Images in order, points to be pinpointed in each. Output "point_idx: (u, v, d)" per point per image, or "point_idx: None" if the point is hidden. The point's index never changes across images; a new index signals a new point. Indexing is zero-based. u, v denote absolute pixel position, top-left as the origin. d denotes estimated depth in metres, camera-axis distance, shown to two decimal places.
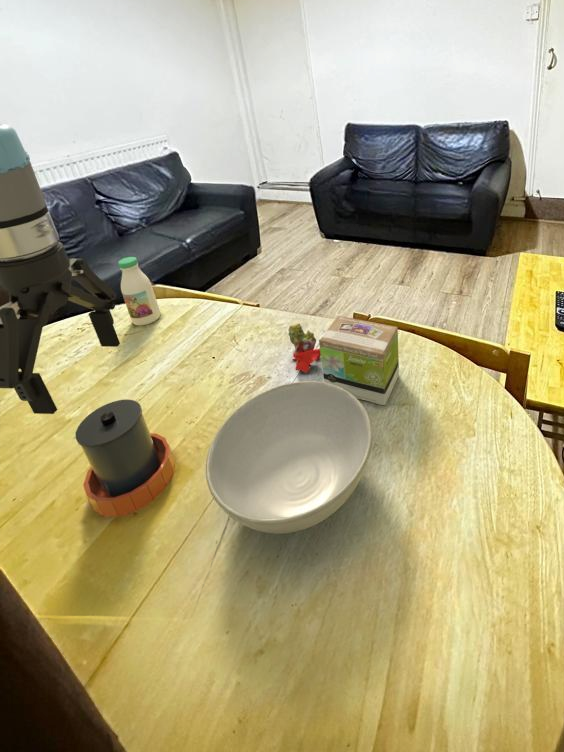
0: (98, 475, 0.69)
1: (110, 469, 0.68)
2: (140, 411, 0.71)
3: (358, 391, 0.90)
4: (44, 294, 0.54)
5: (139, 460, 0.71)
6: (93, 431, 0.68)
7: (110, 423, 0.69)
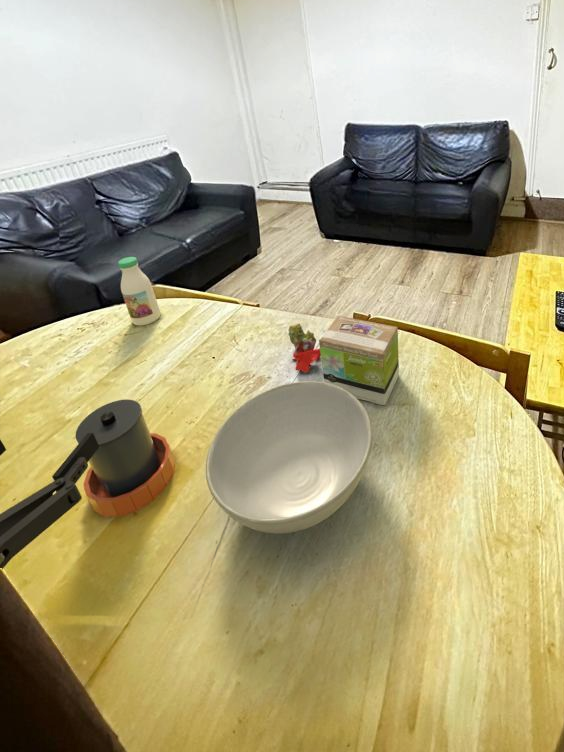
0: (98, 475, 0.69)
1: (110, 469, 0.68)
2: (140, 411, 0.71)
3: (358, 391, 0.90)
4: None
5: (139, 460, 0.71)
6: (93, 431, 0.68)
7: (110, 423, 0.69)
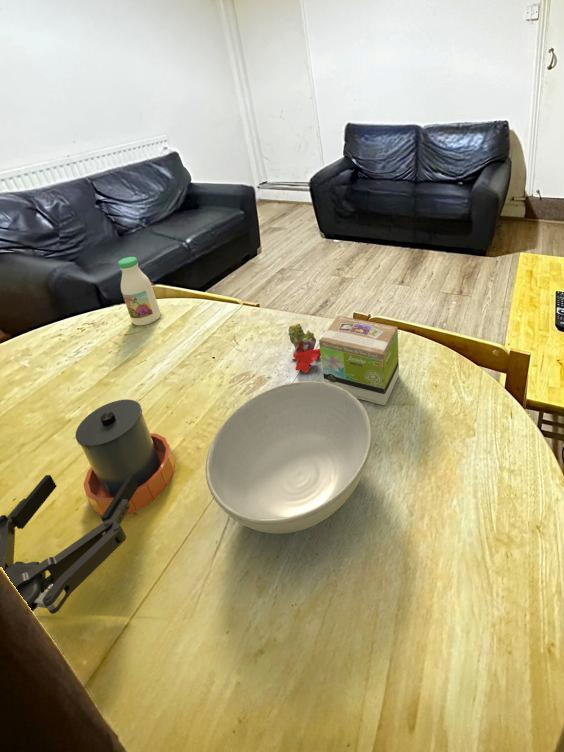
0: (98, 475, 0.69)
1: (110, 469, 0.68)
2: (140, 411, 0.71)
3: (358, 391, 0.90)
4: None
5: (139, 460, 0.71)
6: (93, 431, 0.68)
7: (110, 423, 0.69)
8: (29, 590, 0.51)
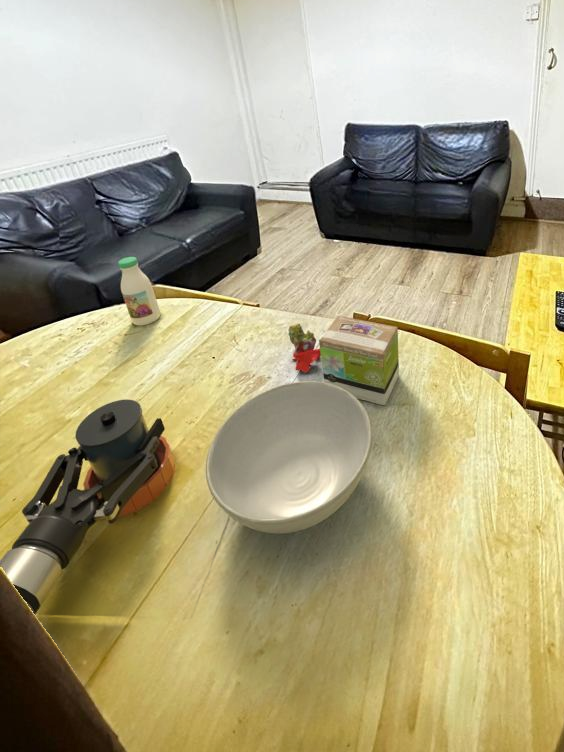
0: (98, 475, 0.69)
1: (110, 469, 0.68)
2: (140, 411, 0.71)
3: (358, 391, 0.90)
4: None
5: None
6: (93, 431, 0.68)
7: (110, 423, 0.69)
8: (87, 509, 0.60)
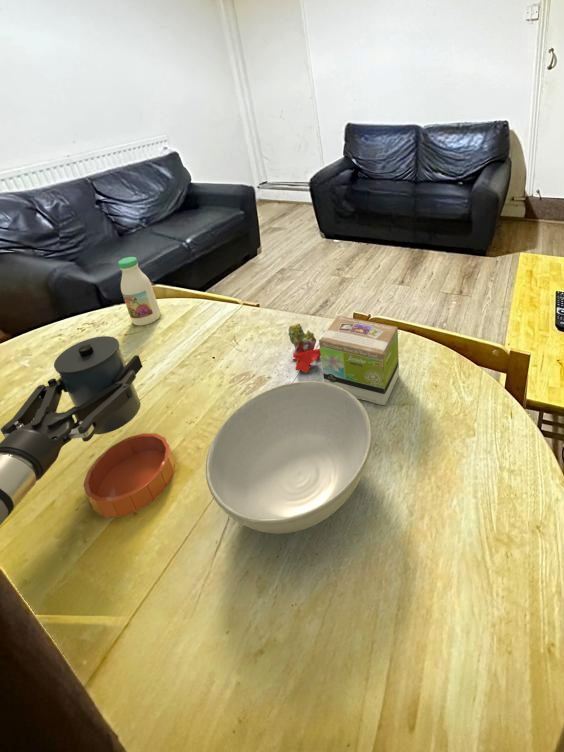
0: (76, 404, 0.72)
1: (87, 398, 0.71)
2: (117, 345, 0.74)
3: (358, 391, 0.90)
4: None
5: None
6: (71, 361, 0.70)
7: (88, 354, 0.72)
8: (63, 427, 0.63)
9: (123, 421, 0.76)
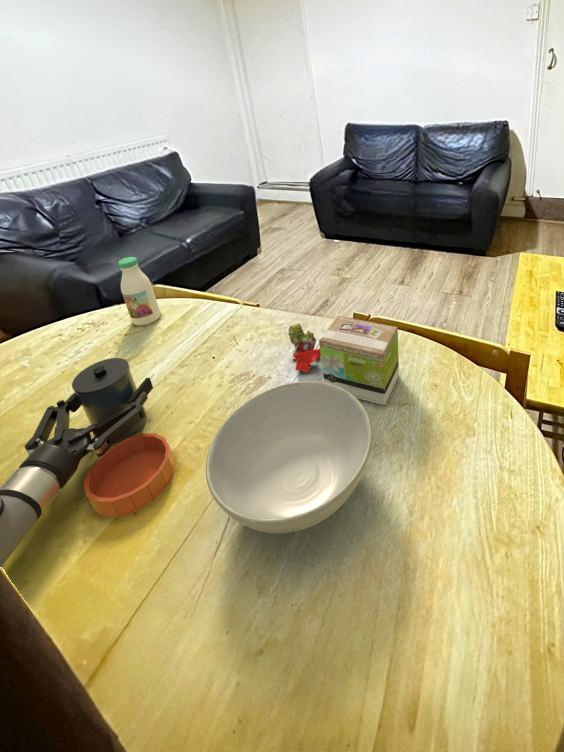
0: (91, 420, 0.80)
1: (102, 414, 0.80)
2: (127, 366, 0.83)
3: (358, 391, 0.90)
4: None
5: None
6: (87, 382, 0.79)
7: (101, 375, 0.80)
8: (81, 442, 0.72)
9: (133, 434, 0.84)
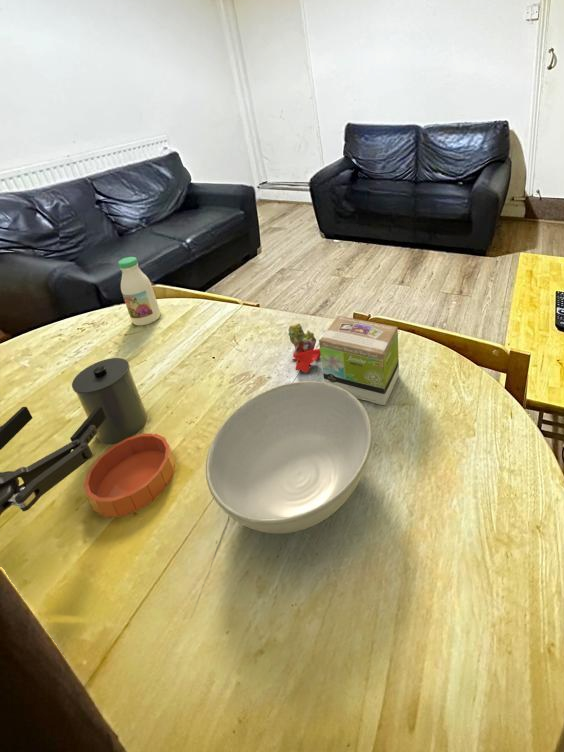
0: None
1: None
2: (127, 366, 0.83)
3: (358, 391, 0.90)
4: None
5: (126, 408, 0.82)
6: (87, 382, 0.79)
7: (101, 375, 0.80)
8: (3, 491, 0.58)
9: (133, 434, 0.84)
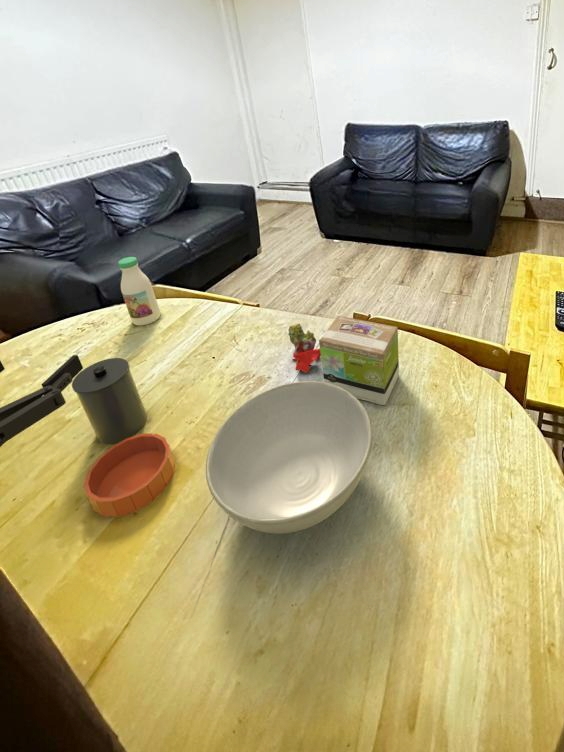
0: (91, 420, 0.80)
1: (102, 414, 0.80)
2: (127, 366, 0.83)
3: (358, 391, 0.90)
4: None
5: (126, 408, 0.82)
6: (87, 382, 0.79)
7: (101, 375, 0.80)
8: None
9: (133, 434, 0.84)
